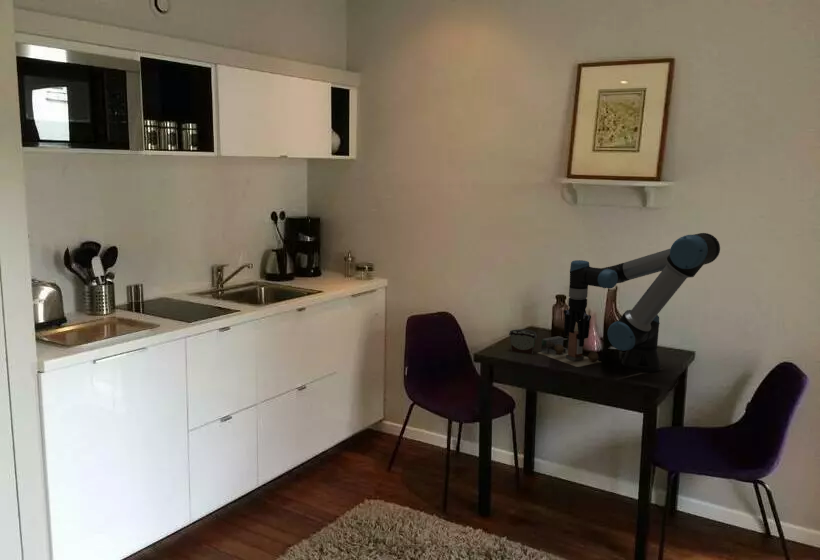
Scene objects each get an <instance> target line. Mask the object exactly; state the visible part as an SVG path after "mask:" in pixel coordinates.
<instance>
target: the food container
mask: <svg viewBox="0 0 820 560" xmlns="http://www.w3.org/2000/svg"><path fill="white" fill-rule="evenodd" d="M509 331H510V332H509V334H508V336H509V337H510V339H509V340H510V351H511V352H515V353H522V354H527V355H533V354H534V351H535V350H534V349H535V343H536V340H537V338H538V336H537V333H536V332H535V331H534V330H529V329H523V328H522V329H512V330H509Z"/></svg>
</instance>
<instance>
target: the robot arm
mask: <svg viewBox="0 0 820 560" xmlns="http://www.w3.org/2000/svg"><path fill="white" fill-rule="evenodd" d="M720 245H721V244H720V242H719V240H718V239H717V237H716V236H714V235H713V234H710V233H708V232H700V233H694V234H686V235H682V236H680V237H679V238H677V239H676V240H675V241H674V242H673V243H672V244H671V247H670V248H668V249H665V250H660V251H657V252H654V253H651V254H647V255H645V256H641V257H638V258H635V259H632V260H628V261H625V262H622V263H618V264H614V265H611V266H606V267H601V268H600V267H593V266H590V262H589V261H588V260H583V259H582V260H578V259H576V260H572V261H571V262H570V266H569V267H570V269H569V287H568V289H569V290H568V297H569V298H568V309H564V310H563V315H564V323H563V324H564V325H563V326H564V327H563V329H564V330H563V333H564V334H566V335H567V343H568V345H567V346H569V332H573V331H575V328H576V324H577V331H578V335H579V338H578V339H577V351H576V354H582V355H583V348H584V343H585V339H588V338H589V336H590V335H589V332H590V323H591V319H592V315H591V314H587V310H586V309H587V307H588V299H587V298H588V293H589V292H588V291H589V289H588V288H589V286H592V287H596V288H597V287H598V288H602V289H613V288H614V287H615V286H616V285H617V284H621V283H626V282H627V281H631V280H634V279H638V278H641V277H645V276H648V275H652V274H657V273H659V272H660V273H659V274H658V275H657V277H656V278H655V279H654V280H653V282H652V283H651V285H649V287H648V288H647V289H646V291H645V292H644V293H643V295H642V296H641V297H640V299H639V300H638V301H637V302H636V303H635V305H634V306H633V308H632V309H627V310H625V311H624V312H623V314H622V315H621V317H620V318H619V319H618V320H617V321H614V322H612V323H611V324H610V325H608V326H609V327H608V328H607V333H606V334H607V339H608V341H609V343H610V345H611V346H612V347H614V349H616V350H618V351H623V352H624V351H625V352H624V355H623V357H622V359H621V364H622V366H623V367H626V368H629V369H632V370H638V371H642V373H655V372H658V371H660V370H661V361H660V358H659V354H658V353H659V352H658V343H659V342H658V341H659V330H660V329H659V328H660V316H659V315H658V314H660V313H661V311H662V310H663V308H665V306H666V305H667V303H668V302H669V301H670V300H671V299H672V297H673V296H674V295H675V294H676V292H677V291H678V290H679V289H680V288H681V286H682V285H683V284H684V282H685V281H687V279H688V278H694V277H695V276H696V275H697V274H698V272H699V271H700V270H701V268H702V267H703V266H704V265H708V264H710V263H712V262H714V261H715V260H717V258H718V257H719V255H720V253H721V246H720Z"/></svg>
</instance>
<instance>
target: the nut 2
mask: <svg viewBox="0 0 820 560" xmlns="http://www.w3.org/2000/svg"><path fill="white" fill-rule="evenodd" d="M587 357H588V358H589V360H590V361H593V362H594V361H597V360H598V361H599V354H598V352H596V351H595V350H594V351H590V352H589V353H588V355H587Z"/></svg>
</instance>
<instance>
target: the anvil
mask: <svg viewBox="0 0 820 560" xmlns="http://www.w3.org/2000/svg"><path fill="white" fill-rule="evenodd" d="M557 344H560V345H562V346H563V347H564V337H563V336H561V335H557V336H552V337H545V338H541V347H540V349H541V350H540V352H542V353H545V354H551V355H553V356H556V351H555V350H554V347H555V345H557ZM567 351H568V347H567V348H566V347H564V351H563V352H562V353H565V354H566V353H567Z"/></svg>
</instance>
